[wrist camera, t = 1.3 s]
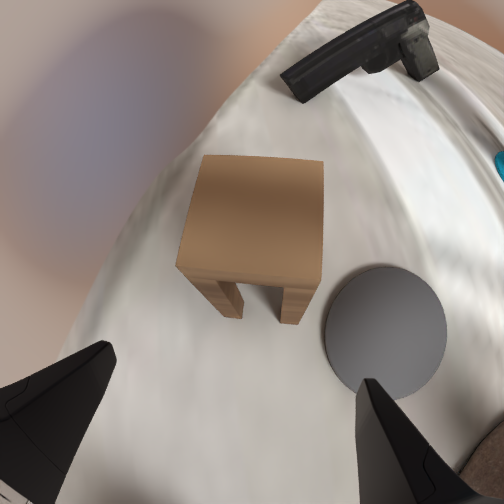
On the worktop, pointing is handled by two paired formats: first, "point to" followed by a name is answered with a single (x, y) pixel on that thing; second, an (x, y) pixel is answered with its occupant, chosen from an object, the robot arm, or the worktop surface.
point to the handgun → (368, 51)
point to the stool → (255, 231)
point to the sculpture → (487, 465)
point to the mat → (386, 331)
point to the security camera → (500, 164)
